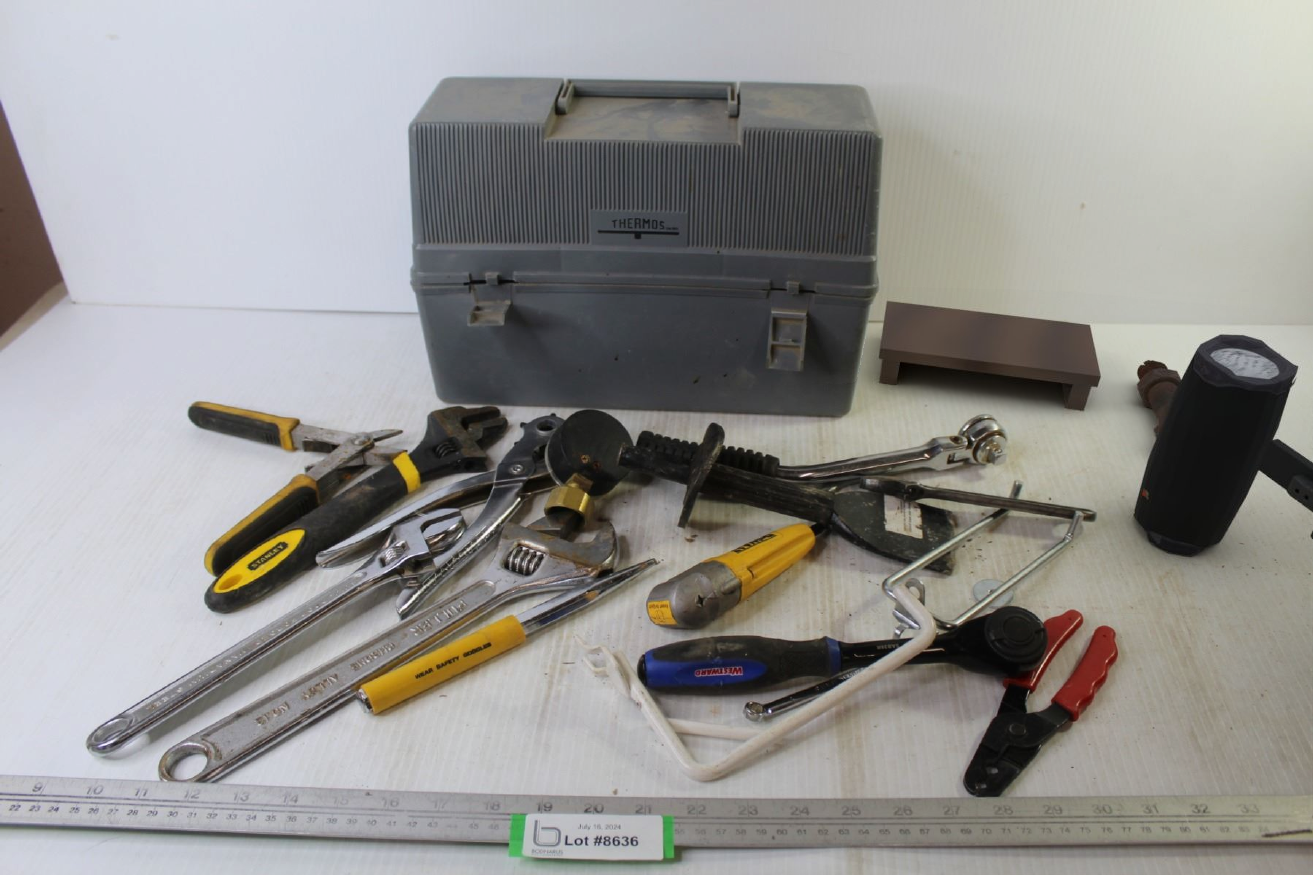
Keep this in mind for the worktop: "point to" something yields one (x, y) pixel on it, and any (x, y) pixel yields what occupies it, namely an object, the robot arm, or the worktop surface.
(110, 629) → the worktop surface
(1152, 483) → the portable speaker
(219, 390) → the worktop surface
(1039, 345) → the shelf
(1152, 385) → the bolt
